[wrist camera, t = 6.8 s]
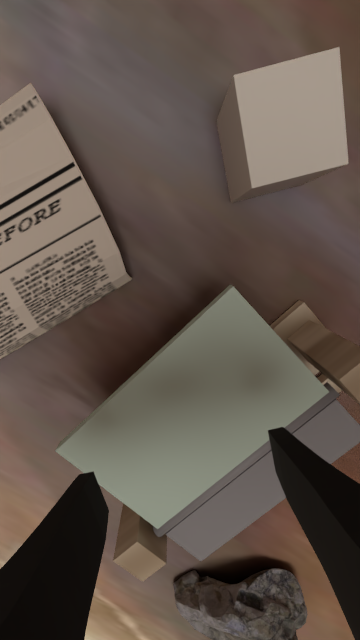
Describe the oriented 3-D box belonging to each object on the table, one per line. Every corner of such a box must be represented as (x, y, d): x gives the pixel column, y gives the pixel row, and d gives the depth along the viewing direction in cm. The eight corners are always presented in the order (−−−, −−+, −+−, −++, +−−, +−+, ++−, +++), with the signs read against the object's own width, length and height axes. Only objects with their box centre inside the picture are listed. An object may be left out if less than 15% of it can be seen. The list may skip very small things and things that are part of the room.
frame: (357, 368, 22) (444, 425, 15) (177, 512, 25) (180, 616, 18) (298, 300, 20) (365, 327, 14) (113, 462, 23) (90, 554, 16)
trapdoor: (333, 395, 20) (374, 433, 16) (192, 508, 22) (197, 566, 18) (222, 273, 18) (238, 282, 13) (75, 412, 20) (51, 455, 16)
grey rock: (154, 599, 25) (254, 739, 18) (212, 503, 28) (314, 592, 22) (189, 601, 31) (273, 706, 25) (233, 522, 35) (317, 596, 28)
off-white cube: (292, 102, 17) (339, 47, 13) (301, 185, 19) (348, 163, 14) (216, 122, 18) (233, 75, 13) (230, 203, 19) (252, 188, 14)
